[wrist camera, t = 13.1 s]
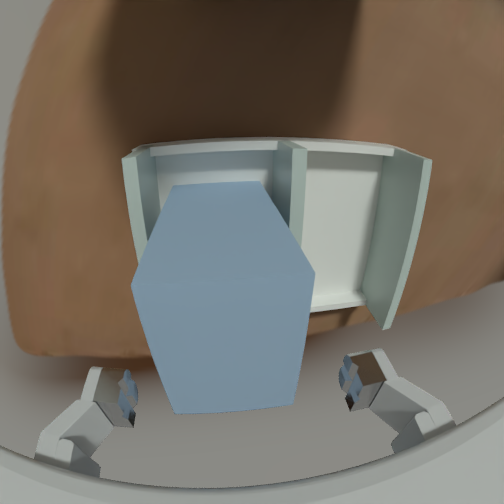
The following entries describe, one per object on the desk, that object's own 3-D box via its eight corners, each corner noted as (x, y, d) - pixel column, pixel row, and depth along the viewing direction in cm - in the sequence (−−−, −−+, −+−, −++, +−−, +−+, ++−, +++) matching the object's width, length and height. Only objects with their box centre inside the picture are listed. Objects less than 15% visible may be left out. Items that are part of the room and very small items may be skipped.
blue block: (259, 180, 20) (315, 273, 9) (258, 277, 24) (293, 404, 13) (173, 185, 19) (130, 285, 9) (184, 282, 23) (174, 414, 12)
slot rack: (389, 144, 21) (436, 160, 15) (365, 287, 27) (393, 327, 22) (141, 144, 18) (114, 159, 13) (165, 305, 25) (157, 354, 20)
